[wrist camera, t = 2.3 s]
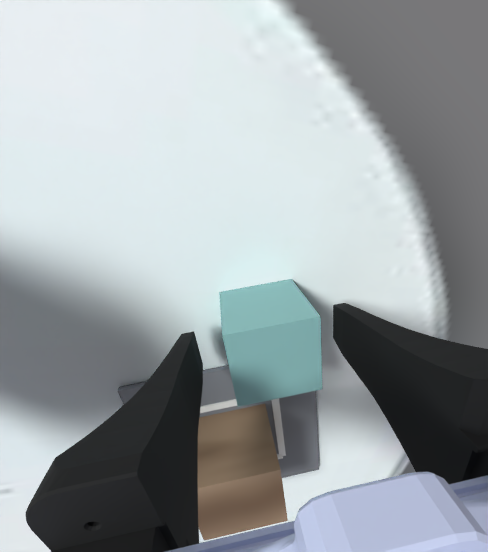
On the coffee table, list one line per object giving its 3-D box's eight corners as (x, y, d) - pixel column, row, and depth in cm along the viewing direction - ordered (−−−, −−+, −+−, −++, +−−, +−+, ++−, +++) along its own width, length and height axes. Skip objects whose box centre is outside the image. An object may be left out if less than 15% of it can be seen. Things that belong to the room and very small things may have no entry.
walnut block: (272, 451, 18) (287, 520, 15) (205, 465, 18) (204, 540, 14) (265, 403, 16) (280, 469, 13) (190, 419, 16) (183, 491, 12)
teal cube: (295, 337, 15) (322, 389, 11) (231, 349, 15) (237, 407, 11) (291, 278, 14) (320, 316, 10) (219, 291, 13) (222, 335, 10)
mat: (317, 465, 20) (319, 470, 20) (171, 498, 19) (170, 504, 19) (312, 348, 15) (314, 352, 15) (119, 387, 15) (117, 392, 14)
